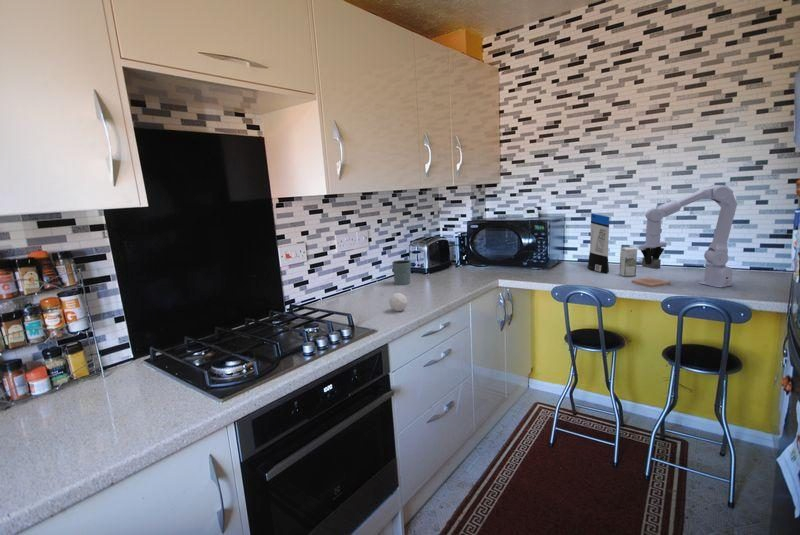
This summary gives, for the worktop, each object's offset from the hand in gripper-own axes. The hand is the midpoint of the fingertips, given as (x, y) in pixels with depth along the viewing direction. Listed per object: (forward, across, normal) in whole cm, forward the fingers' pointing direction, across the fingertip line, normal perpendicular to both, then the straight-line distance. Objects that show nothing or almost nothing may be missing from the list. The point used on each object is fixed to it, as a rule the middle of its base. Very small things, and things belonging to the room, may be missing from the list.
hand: (651, 263), depth 194 cm
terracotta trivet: (+9, 0, 0) cm, 9 cm away
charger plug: (+2, 0, 0) cm, 2 cm away
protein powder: (+10, -3, -36) cm, 37 cm away
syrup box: (+10, -4, -17) cm, 20 cm away
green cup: (+10, +102, -64) cm, 121 cm away
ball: (+10, +119, -18) cm, 121 cm away
